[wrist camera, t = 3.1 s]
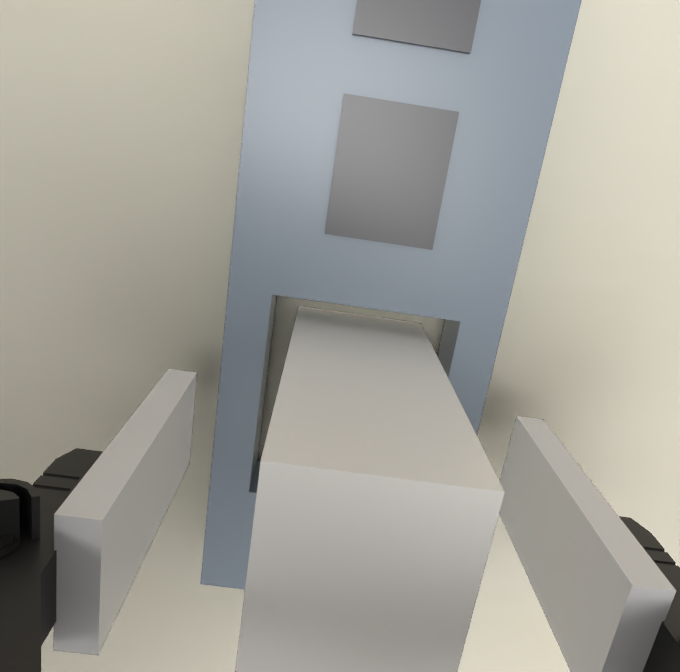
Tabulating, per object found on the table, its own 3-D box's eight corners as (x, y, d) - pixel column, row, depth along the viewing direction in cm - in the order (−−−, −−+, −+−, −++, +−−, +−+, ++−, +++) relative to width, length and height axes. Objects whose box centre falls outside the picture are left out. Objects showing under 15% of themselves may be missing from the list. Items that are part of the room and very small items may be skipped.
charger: (281, 443, 20) (231, 699, 11) (299, 305, 19) (260, 460, 9) (394, 458, 21) (443, 722, 11) (420, 323, 19) (504, 491, 10)
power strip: (212, 545, 22) (199, 588, 19) (283, -170, 15) (274, -223, 13) (425, 571, 22) (435, 616, 20) (583, -116, 16) (622, -158, 13)
